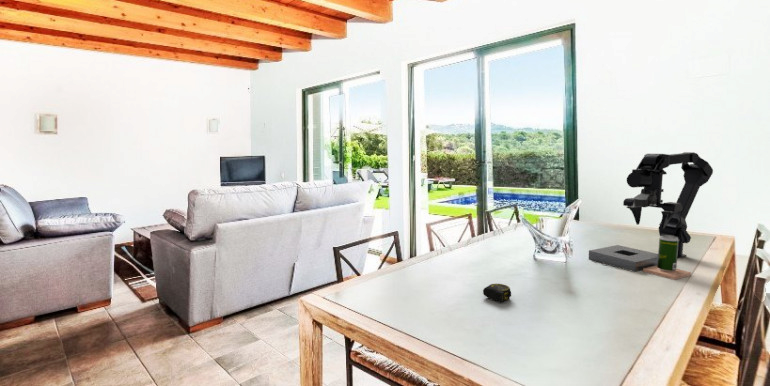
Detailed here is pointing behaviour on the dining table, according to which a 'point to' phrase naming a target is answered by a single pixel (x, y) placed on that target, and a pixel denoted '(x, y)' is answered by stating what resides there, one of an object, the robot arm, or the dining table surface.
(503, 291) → the tape measure
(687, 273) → the coaster
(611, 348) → the dining table surface
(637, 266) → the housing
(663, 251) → the beer can
